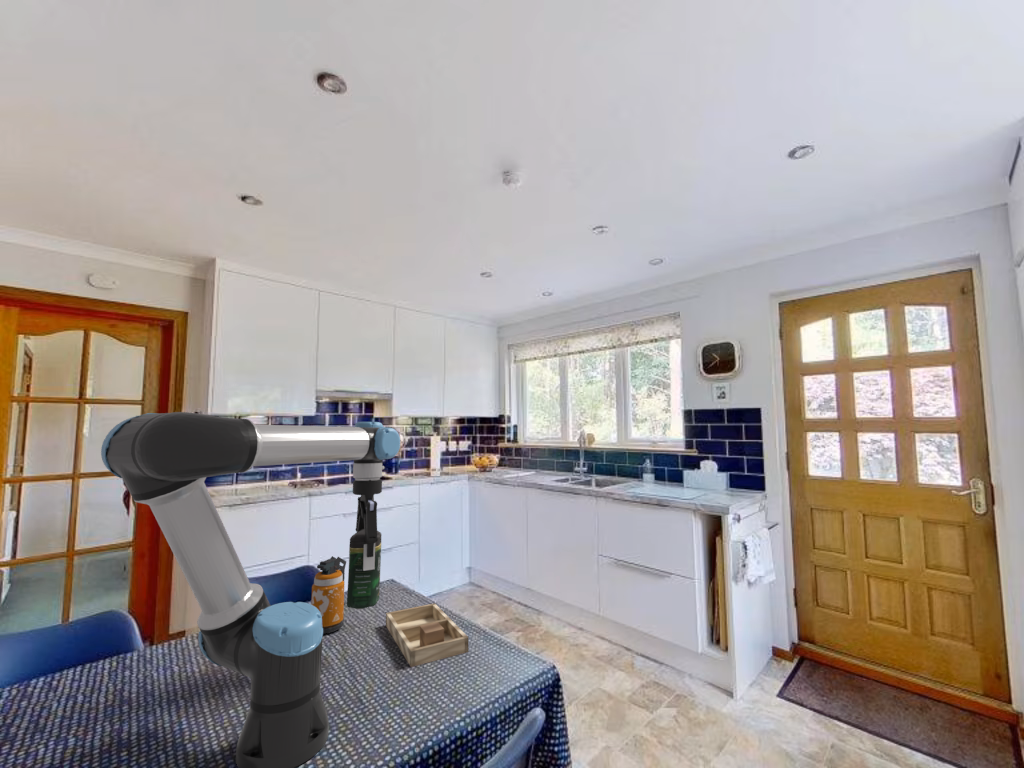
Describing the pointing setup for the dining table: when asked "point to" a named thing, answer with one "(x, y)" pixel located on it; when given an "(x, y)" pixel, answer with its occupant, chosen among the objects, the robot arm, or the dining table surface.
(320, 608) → the canister
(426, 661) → the slot rack
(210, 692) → the dining table surface
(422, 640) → the walnut block
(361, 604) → the coffee jar
